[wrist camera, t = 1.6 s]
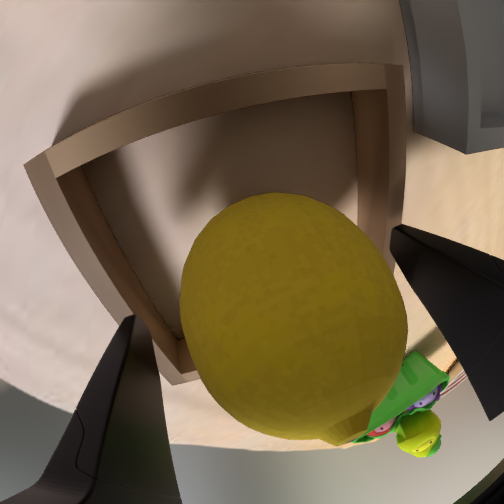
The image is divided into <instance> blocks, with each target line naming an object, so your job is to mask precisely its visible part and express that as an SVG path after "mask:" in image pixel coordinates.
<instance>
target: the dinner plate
mask: <svg viewBox="0 0 504 504" xmlns="http://www.w3.org/2000/svg"><path fill="white" fill-rule="evenodd" d="M448 375H449V376H450V379H449V383H448V386H447V387H446V388H445V389H444V390H443V391H442V392H441V393H440V398H441V397H443V396H444V395H445V394H447V393H448V392H450V391H451V390H453V389H454V388H455V387H456V386H457V385H459V384H460V383H461V382H463V381H464V380H465V379H466V378H467V375H466V373H465V371H464V369H463V368H462V366H461V364H460V362H459V361H457V362H456V364H455V365H454V366H453V367H452V369H451V370H450V372H449V374H448Z"/></svg>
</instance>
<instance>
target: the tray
mask: <svg viewBox="0 0 504 504" xmlns="http://www.w3.org/2000/svg"><path fill="white" fill-rule="evenodd" d="M399 2H400V6H401V10H402V15H403V20H404V25H405V31H406V37H407V43H408V50H409V58H410V67H411V77H412V91H413V112H414V132H415V133H418V134H421V135H423V136H426V137H428V138H430V139H433V140H435V141H438V142H440V143H442V144H444V145H447V146H449V147H451V148H453V149H455V150H458V151H460V152H462V153H464V154H466V155H467V154H472V153H477V152H482V151H487V150H493V149H499V148H504V0H399Z"/></svg>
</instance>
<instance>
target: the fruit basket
mask: <svg viewBox="0 0 504 504" xmlns="http://www.w3.org/2000/svg"><path fill="white" fill-rule="evenodd" d="M449 379H450V376H449V375H448V374H447V373H445V372H444V371H441V370H439V369H438V368H437V367H436V366H435V365H433V364H432V363H431V362H430V361H428V360H427V359H426V358H425V357H423V356H422V355H421V354H420V353H418V352H417V351H413V352H412V353H411V354H410V355H408V356H407V357H406V358H405V359H404V360H403V362H402V365H401V369H400V372H399V374H398V376H397V378H396V380H395V382H394V384H393V386H392V388H391V389H390V391H389V392H388V394H387V395H386V396H385V398H384V399H383V401H382V402H381V403H380V404H379V406H378V407H377V408H376V409H375V410H374V411H373V412H372V415H371V418H370V422H369V426H368V429H367V431H366V432H365V433H364V434H363V435H361V436H360V437H358V438H357V439H356V440H354V441H352V443H360V442H368V441H371V440H373V439H375V438H382V437H384V436H385V435H386V434H388V433H392V432H394V431H395V432H396V433H397V436H396V438H397V445H398V446H399V448H400V449H402V450H403V451H405V452H408V453H411V454H412V455H414V456H416V457H424V456H427V457H429V456H432V455H433V454H435V453H436V452H437V451H438V449H439V448H440V445H441V440H440V438H441V435H440V434H439V433H440V429H441V421H440V419H439V418H438V416H437V415H436V414H434V413H433V412H432V411H431V410H430V409H431V408H432V406H433V405H434V404H435V403H436V401H438V400H439V399H440V393H441V392H442V391H443V390H444V389H445V388H446V387H447V386H448V383H449Z"/></svg>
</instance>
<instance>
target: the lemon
mask: <svg viewBox="0 0 504 504" xmlns="http://www.w3.org/2000/svg"><path fill="white" fill-rule="evenodd" d="M180 318H181V324H182V329H183V333H184V336H185V340H186V343H187V346H188V349H189V352H190V355H191V357H192V360H193V363H194V365H195V368H196V370H197V372H198V374H199V376H200V378H201V380H202V382H203V383H204V385H205V387H206V388H207V390H208V391H209V393H210V394H211V395H212V397H213V398H214V399H215V400H216V402H217V403H218V404H219V405H220V406H221V407H222V408H223V409H224V410H226V411H227V412H228V413H229V414H230V415H231V416H232V417H234V418H235V419H236V420H237V421H239V422H240V423H242V424H244V425H245V426H247V427H249V428H251V429H253V430H256V431H258V432H261V433H263V434H266V435H270V436H274V437H279V438H283V439H288V440H312V439H320V440H323V441H325V442H327V443H330V444H332V445H334V446H339V445H343V444H346V443H349V442H352V441H354V440H356V439H357V438H358V437H360V436H361V435H363V434H364V433H365V432H366V431H367V429H368V426H369V422H370V418H371V415H372V412H373V411H374V410H375V409H376V408H377V407H378V406H379V404H380V403H381V402H382V401H383V399H384V398H385V396H386V395H387V394H388V392H389V391H390V389H391V388H392V386H393V384H394V382H395V380H396V378H397V376H398V374H399V372H400V369H401V365H402V362H403V358H404V355H405V350H406V343H407V335H408V324H407V314H406V310H405V306H404V302H403V299H402V296H401V293H400V291H399V288H398V286H397V283H396V281H395V278H394V276H393V274H392V272H391V270H390V268H389V266H388V264H387V262H386V260H385V259H384V257H383V256H382V254H381V252H380V251H379V250H378V248H377V247H376V245H375V244H374V243H373V242H372V240H371V239H370V238H369V237H368V236H367V235H366V234H365V233H364V232H363V231H362V230H361V229H360V228H359V227H357V226H356V225H355V224H354V223H353V222H352V221H351V220H350V219H348V218H347V217H346V216H345V215H344V214H342V213H341V212H339V211H338V210H336V209H335V208H333V207H331V206H329V205H327V204H325V203H322V202H320V201H317V200H315V199H312V198H310V197H307V196H304V195H300V194H290V193H278V192H271V193H266V194H260V195H254V196H250V197H248V198H245V199H243V200H241V201H238V202H236V203H234V204H232V205H229V206H228V207H227V208H225V209H224V210H223V211H221V212H220V213H219V214H217V215H216V216H215V217H213V218H212V219H211V220H210V221H209V223H208V224H207V225H206V226H205V228H204V229H203V230H202V231H201V233H200V234H199V235H198V236H197V238H196V239H195V241H194V243H193V246H192V248H191V250H190V252H189V255H188V257H187V259H186V262H185V265H184V268H183V273H182V281H181V291H180Z"/></svg>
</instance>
